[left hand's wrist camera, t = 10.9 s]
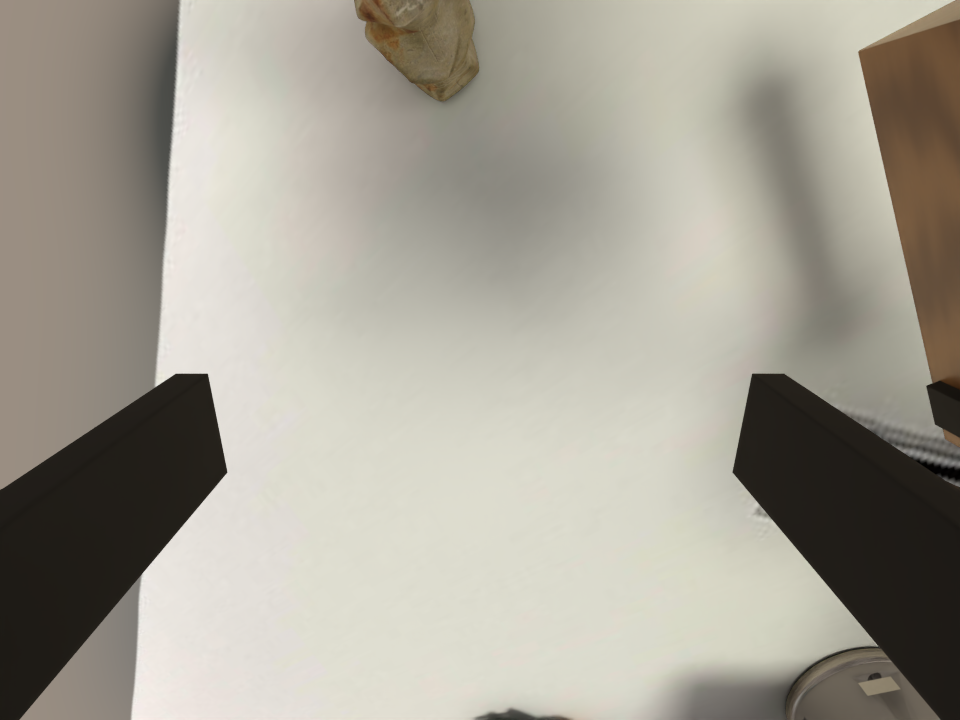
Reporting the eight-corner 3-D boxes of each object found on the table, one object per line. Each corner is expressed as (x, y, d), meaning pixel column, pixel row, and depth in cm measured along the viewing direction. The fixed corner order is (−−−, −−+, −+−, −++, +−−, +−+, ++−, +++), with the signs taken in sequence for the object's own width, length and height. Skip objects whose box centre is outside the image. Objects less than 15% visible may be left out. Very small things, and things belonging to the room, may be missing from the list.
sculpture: (433, -33, 33) (399, -181, 19) (495, 69, 36) (504, 2, 21) (364, 26, 35) (285, -74, 21) (427, 122, 37) (395, 91, 23)
